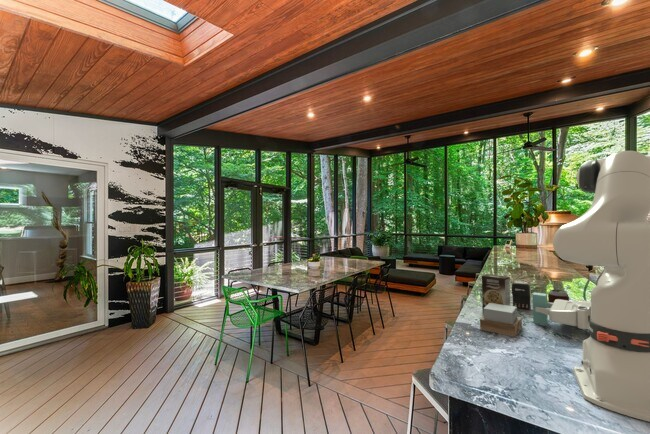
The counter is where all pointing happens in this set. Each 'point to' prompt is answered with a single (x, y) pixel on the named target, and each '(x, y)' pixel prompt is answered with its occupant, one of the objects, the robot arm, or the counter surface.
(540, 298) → the teal block
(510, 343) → the counter surface
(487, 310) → the tower top
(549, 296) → the mate gourd
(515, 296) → the battery charger
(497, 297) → the coffee box
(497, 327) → the tower base
